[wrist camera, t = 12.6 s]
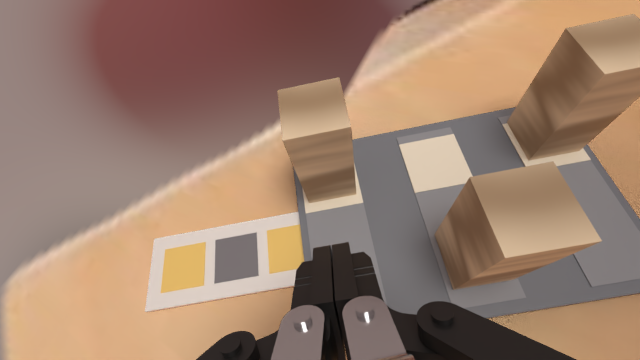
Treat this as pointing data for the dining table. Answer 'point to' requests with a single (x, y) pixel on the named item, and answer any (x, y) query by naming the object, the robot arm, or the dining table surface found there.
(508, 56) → the dining table surface
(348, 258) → the robot arm
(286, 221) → the card
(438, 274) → the toggle board
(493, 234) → the block
